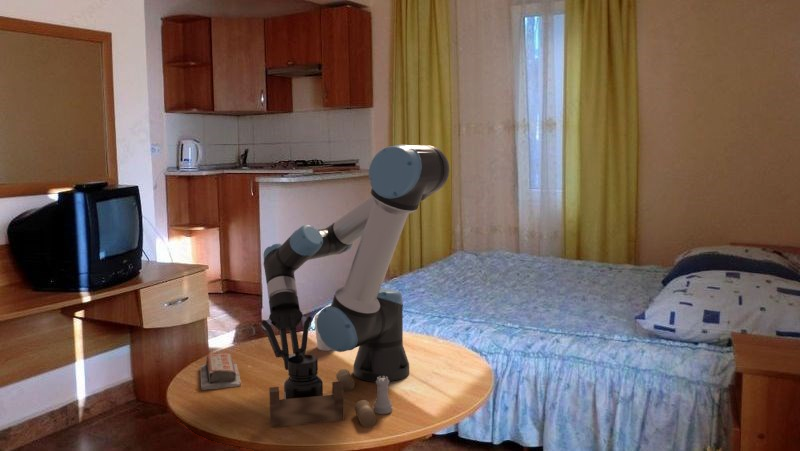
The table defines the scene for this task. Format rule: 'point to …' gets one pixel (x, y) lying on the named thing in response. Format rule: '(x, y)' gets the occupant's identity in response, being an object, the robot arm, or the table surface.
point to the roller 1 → (345, 379)
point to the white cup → (320, 343)
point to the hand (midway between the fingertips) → (295, 380)
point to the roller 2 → (365, 413)
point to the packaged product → (219, 372)
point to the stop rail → (306, 408)
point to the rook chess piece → (382, 396)
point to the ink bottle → (303, 378)
